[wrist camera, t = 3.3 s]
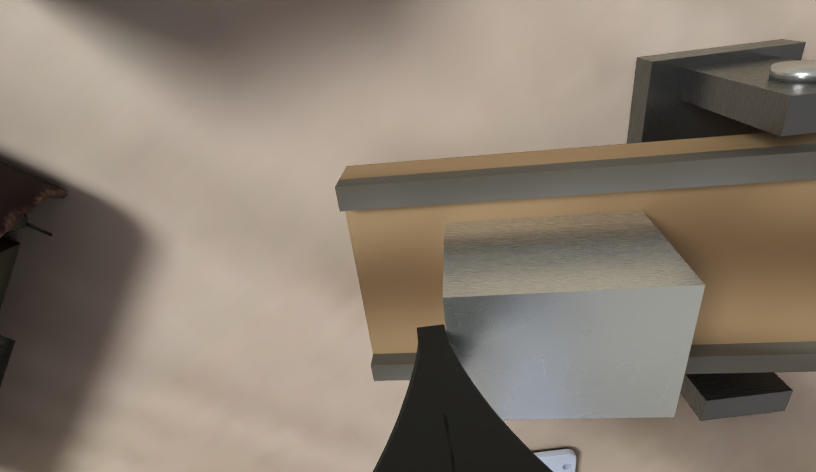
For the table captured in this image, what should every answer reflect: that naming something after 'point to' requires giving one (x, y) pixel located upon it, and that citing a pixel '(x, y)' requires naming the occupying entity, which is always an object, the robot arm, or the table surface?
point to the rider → (570, 314)
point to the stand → (723, 116)
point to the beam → (606, 192)
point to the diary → (17, 227)
